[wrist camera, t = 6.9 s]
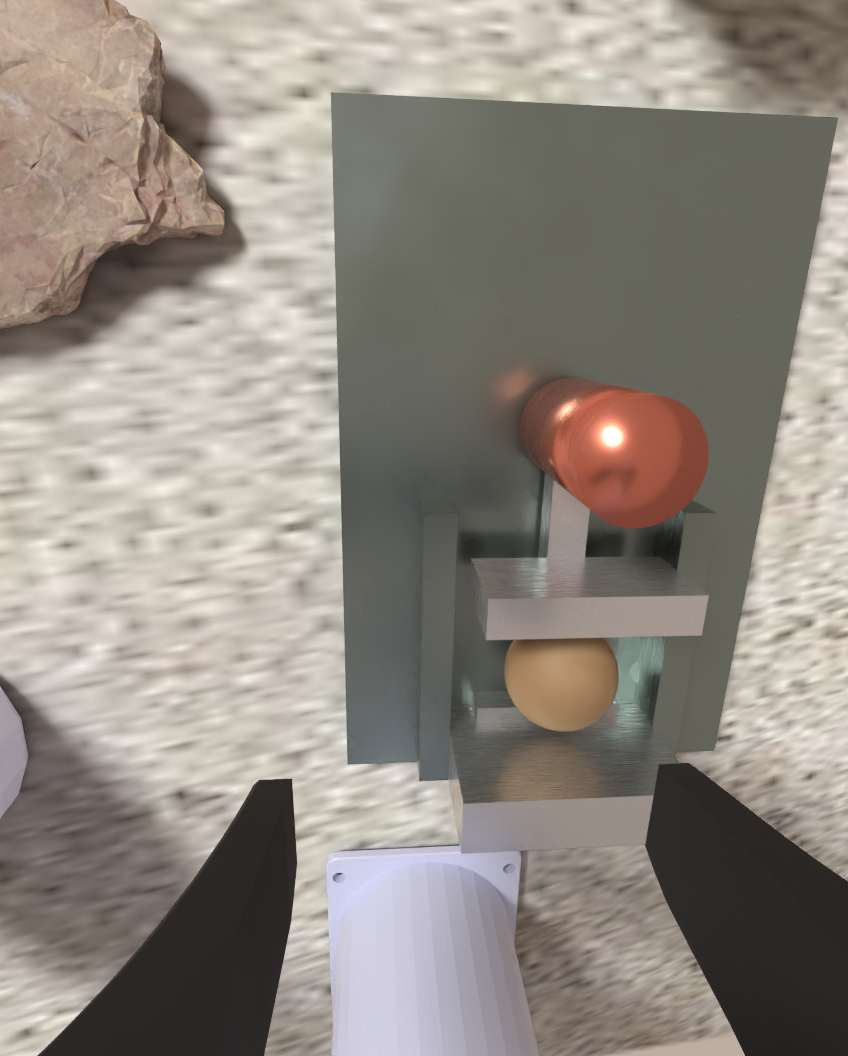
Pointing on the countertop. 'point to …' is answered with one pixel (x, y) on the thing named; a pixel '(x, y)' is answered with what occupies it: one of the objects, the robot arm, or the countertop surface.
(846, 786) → the countertop surface
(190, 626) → the countertop surface
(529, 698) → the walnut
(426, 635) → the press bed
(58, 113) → the stone
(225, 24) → the countertop surface
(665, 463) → the ram
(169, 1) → the countertop surface
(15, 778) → the soap bottle
